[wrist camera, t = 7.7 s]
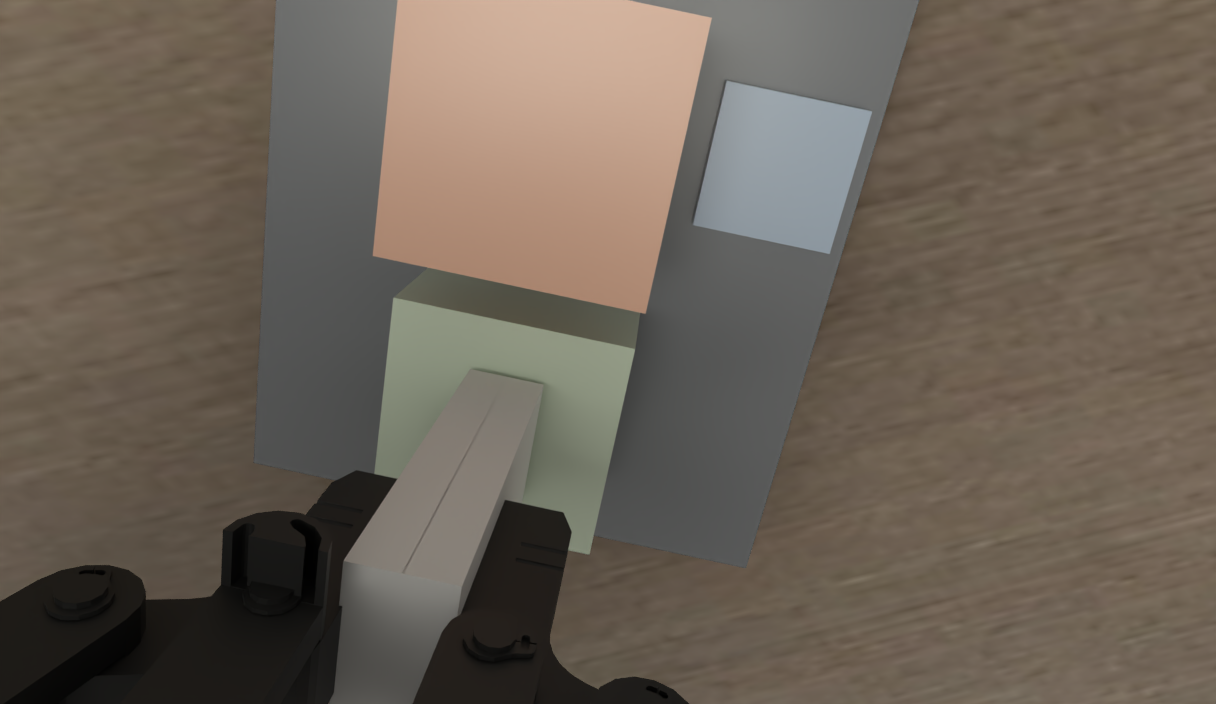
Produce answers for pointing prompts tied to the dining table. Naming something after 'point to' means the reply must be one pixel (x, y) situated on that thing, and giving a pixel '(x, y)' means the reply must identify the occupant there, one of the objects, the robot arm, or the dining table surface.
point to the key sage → (517, 348)
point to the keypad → (685, 272)
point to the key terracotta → (537, 141)
